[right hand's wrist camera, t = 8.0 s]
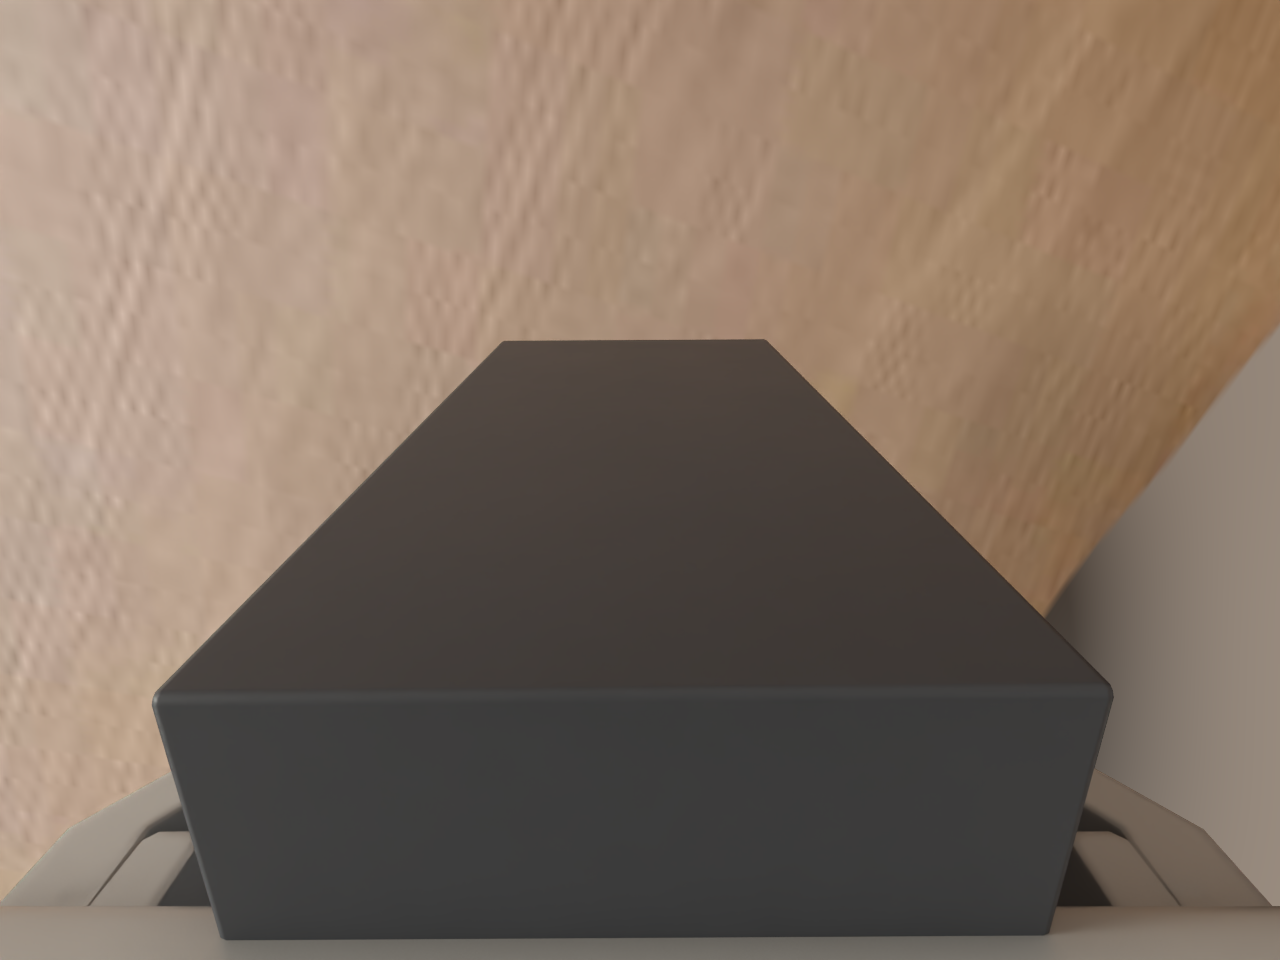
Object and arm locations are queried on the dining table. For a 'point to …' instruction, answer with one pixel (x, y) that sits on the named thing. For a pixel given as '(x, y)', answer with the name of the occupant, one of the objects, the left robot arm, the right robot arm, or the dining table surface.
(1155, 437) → the dining table surface
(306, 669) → the box
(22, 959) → the right robot arm
